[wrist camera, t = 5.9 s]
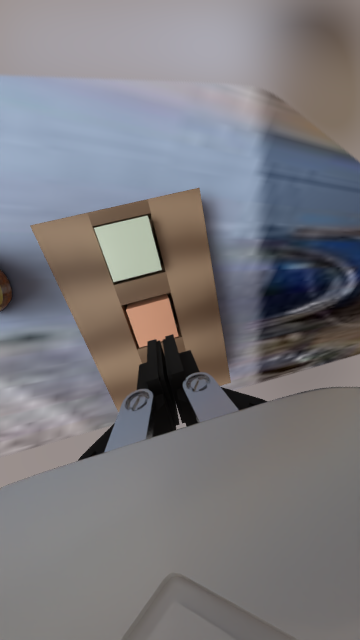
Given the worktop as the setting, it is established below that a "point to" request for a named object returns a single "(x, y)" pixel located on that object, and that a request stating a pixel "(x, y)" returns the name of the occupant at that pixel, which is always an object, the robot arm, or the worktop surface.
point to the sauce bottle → (4, 291)
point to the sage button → (129, 248)
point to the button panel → (139, 286)
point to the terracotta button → (152, 319)
